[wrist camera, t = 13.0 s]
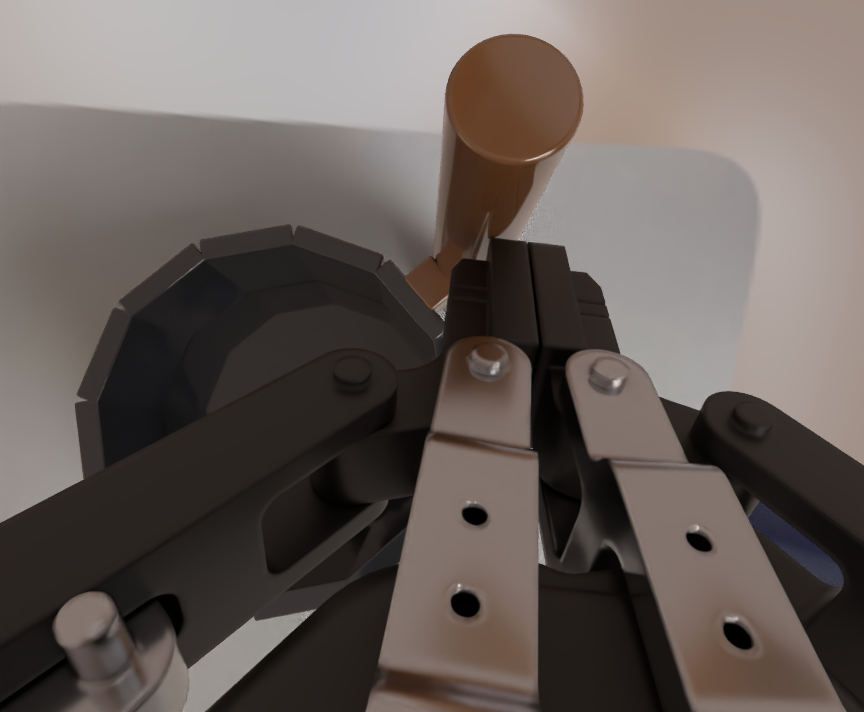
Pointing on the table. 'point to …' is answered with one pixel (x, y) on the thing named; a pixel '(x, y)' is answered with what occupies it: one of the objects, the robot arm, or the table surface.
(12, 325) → the table surface
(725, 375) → the table surface
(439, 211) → the wooden handled pot
